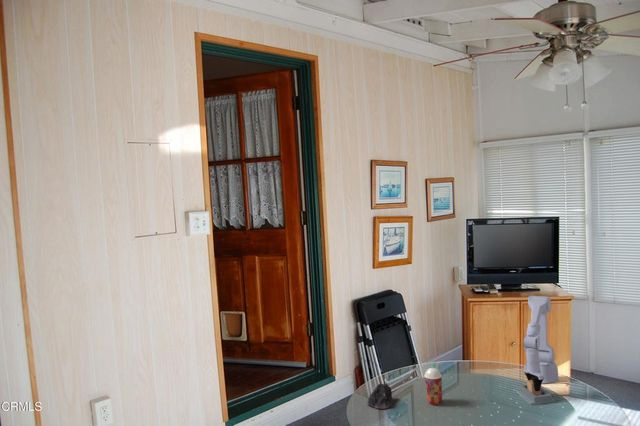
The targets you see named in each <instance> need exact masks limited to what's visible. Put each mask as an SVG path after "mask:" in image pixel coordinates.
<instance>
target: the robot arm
mask: <svg viewBox="0 0 640 426" xmlns="http://www.w3.org/2000/svg"><path fill="white" fill-rule="evenodd" d="M527 299H528V300H527V305H528V308H529V310H531V314H530V315H531V316H530V317H531V318H530V322H529V323H528V324H527V329H526V334H525V335H526V336H524V337H523V347H524V352H525V357H526V358H525V359H526V364H524V375H525V377H526V378H527V379H526V380H532V381H533V384H534V389H535V391H540V388H542V384H549V383H550V384H551V383H558V382H560V379H559V370H558V369H559V368H558V365H557V363H556V362H555V360H556V354H555V350H554V347H552V345H550V344H549V337H548V336H549V335H548V313H550V312H551V311H552V303H551V301H552V300H551V298H550V297H549V296H548V295H547V296H544V295H542V296H541V295H528V298H527Z"/></svg>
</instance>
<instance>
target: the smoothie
mask: <svg viewBox="0 0 640 426" xmlns="http://www.w3.org/2000/svg"><path fill="white" fill-rule="evenodd" d="M430 364H431V365H430V366H431V367H430V368H427V370H426V371H425V373H424V375H423V377H424V382H425V389H426V396H427V401H428V403H429V404H430V405H432V406H438V405H441V404H442V401H443V377H442V376H443V374H442V373H441V372H440V370H439V369H438V368H436V367H434V364H433V362H431V363H430Z"/></svg>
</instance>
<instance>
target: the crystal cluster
mask: <svg viewBox="0 0 640 426" xmlns="http://www.w3.org/2000/svg"><path fill="white" fill-rule="evenodd" d="M367 400H368V401H367V405H368V406H370V407H372V408H374V409H381V410H385V409H386V410H387V409H388V408H390V407H391V406H392V405H393V404H394V403H393V393H392V389H391V386H390V385H388V384H387V383H385V382H384V383H379V384H378V385H376V387H375V388H374V390H373V391H372V392H371V394H369V397H368V399H367Z"/></svg>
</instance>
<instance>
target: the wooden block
mask: <svg viewBox="0 0 640 426" xmlns="http://www.w3.org/2000/svg"><path fill="white" fill-rule="evenodd" d="M526 384H527V388H528V390H529V391H530V392H532V393H533V394H534V395H535V396H538V395H542V394H541V388H542V387H541V388H540V391H535V389H534V384H533V381H532V380H528V379H526Z"/></svg>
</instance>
